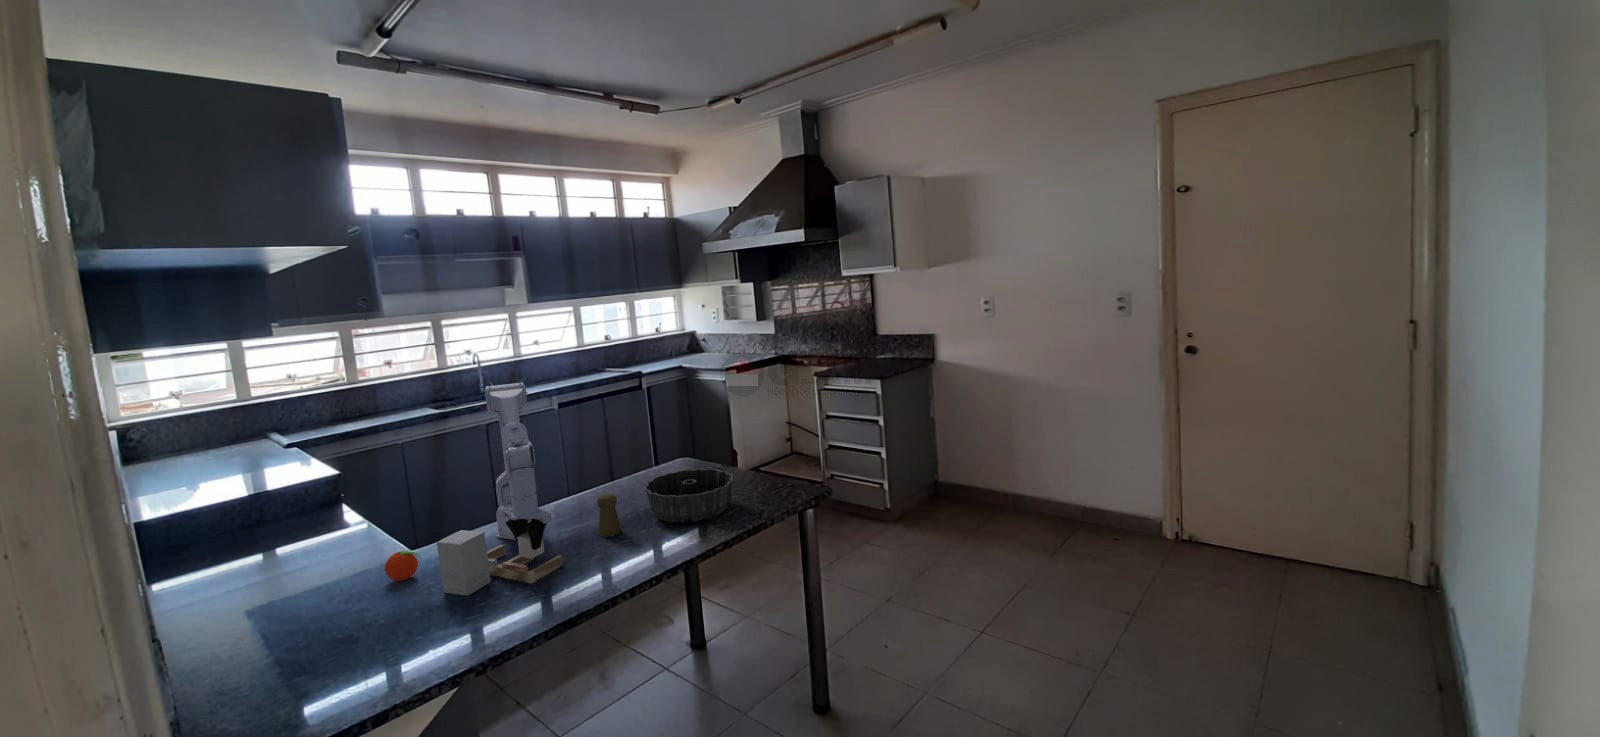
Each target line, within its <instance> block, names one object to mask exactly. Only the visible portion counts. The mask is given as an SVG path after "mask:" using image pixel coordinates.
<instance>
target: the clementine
mask: <svg viewBox="0 0 1600 737" xmlns="http://www.w3.org/2000/svg"><path fill="white" fill-rule="evenodd" d="M415 555H416V556H417V557H419V558H420V559H422V557H421V556H420V555H419V554H418V553H416V552H415V551H410V550H409V551H408V550H406V551H405V550H403V551H402V550H401V551H398V552H395V553H394V554H391V556H389V557H388V559H387V560H386V561H385V564H384V572H385V575H386V576H387V577H388V579H390V580H392V581H395V582H402V581H406V580H408V579H410V578H412V577H413V576H414V574H415V573H416V572H417V569H418V566H419V561H418V559H417V557H416V556H415Z"/></svg>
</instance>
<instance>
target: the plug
mask: <svg viewBox="0 0 1600 737" xmlns="http://www.w3.org/2000/svg"><path fill="white" fill-rule="evenodd" d="M517 538H518V544H517V546H518V555H520V557H526V558H531V559H532V558H536V557H538V556H539V555H541V554H543V553H545V547H544V546H545V545H544V539H543V537H542V543H541V547H540V548H538V549H536V550H533V549H532V546H531V542H530V537H529V534H528V532H526V533H524V534H523V535H521V536H518V537H517Z"/></svg>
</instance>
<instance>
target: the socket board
mask: <svg viewBox="0 0 1600 737" xmlns="http://www.w3.org/2000/svg"><path fill="white" fill-rule="evenodd" d="M505 549H506V548H505V545H504V544H499V545H498V546H495V547H494V548H491V549H489V550H487V557H488V564H489V571H490V576H492V577H497V576H499V577H498V578H502V577H503V579H507V580H511V579H513V581H516V580H518V582H521V581H524V582H523V583H526V582H528V583H527V584H531V583H532V584H534V583H535V582H537V581H538V580H540V578H541V579H542V578H543V577H545V576H548V575H549V574H551V573H552V571H553V570H554V571H556V570H558V569H559V568H561V567H562V566H561V565H563V566H564V558H563V555H560V554H557V555H556V556H555V557H552V558H551V559H549V560H547V561H546V562H544V563H542V564H540V565H538V566H537V567H535V568H533V569H531V570H529V567H528V565H527V564H528V563H530V562H532V561H533V559H534V558H535V557H534V558H532V559H531V558H526V557H520V555H519V554H518V555H517V556H515V557H512V558H510V559H509V560H507V561H504V562H502V563H501V564H499V563H498V559H499V558H501V557H503V556H505V555H506V550H505ZM531 560H532V561H531ZM529 561H530V562H529ZM527 562H528V563H527ZM524 564H525V565H524ZM560 566H561V567H560ZM558 567H559V568H558ZM557 568H558V569H557ZM555 569H556V570H555ZM554 571H553V572H554ZM550 572H551V573H550ZM508 578H509V579H508ZM533 582H534V583H533Z"/></svg>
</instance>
